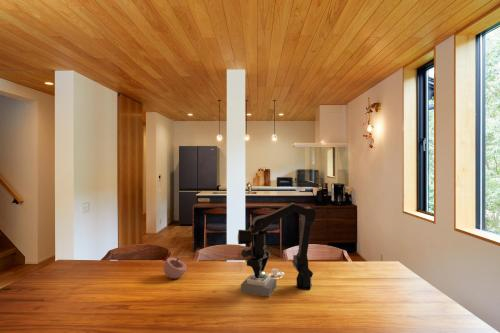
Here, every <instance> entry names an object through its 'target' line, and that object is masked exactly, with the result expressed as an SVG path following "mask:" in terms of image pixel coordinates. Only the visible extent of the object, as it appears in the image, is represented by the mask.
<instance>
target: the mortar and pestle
mask: <svg viewBox="0 0 500 333" xmlns="http://www.w3.org/2000/svg"><path fill="white" fill-rule="evenodd" d="M163 272H164V274H165V275H166V276H167V278H169V279H179V278H181V277H182V276H184V275H185V273H186V272H187V264H186V263H185V262H183V260H181V258H180V256H177V258H176V257H173V256H172V257H167V259H166V260H165V261H164V263H163Z"/></svg>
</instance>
